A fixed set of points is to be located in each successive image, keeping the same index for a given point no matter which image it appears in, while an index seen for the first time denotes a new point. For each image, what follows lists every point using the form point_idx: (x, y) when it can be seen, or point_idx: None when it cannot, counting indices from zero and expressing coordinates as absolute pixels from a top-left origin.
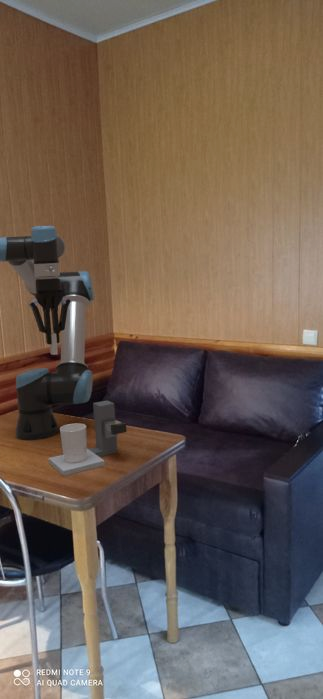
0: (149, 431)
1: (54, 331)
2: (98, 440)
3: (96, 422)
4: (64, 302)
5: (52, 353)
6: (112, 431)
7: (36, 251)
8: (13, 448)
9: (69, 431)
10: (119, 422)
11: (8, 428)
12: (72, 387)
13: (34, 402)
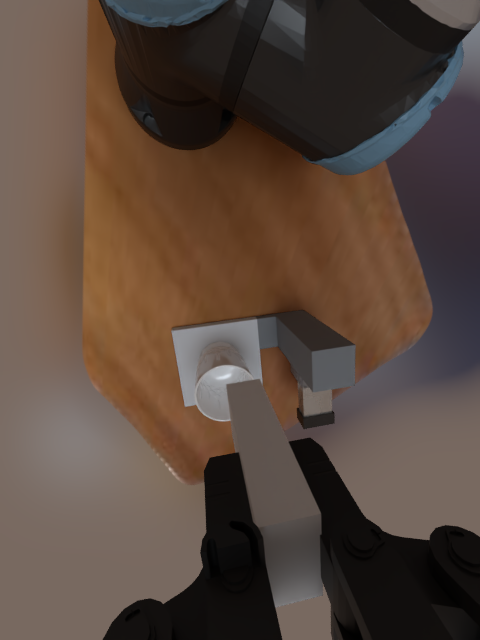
0: (410, 253)
1: (331, 585)
2: (281, 335)
3: (294, 346)
4: None
5: (232, 429)
6: (299, 417)
7: None
8: (106, 184)
9: (211, 418)
10: (329, 401)
11: None
12: (319, 150)
13: (168, 84)
